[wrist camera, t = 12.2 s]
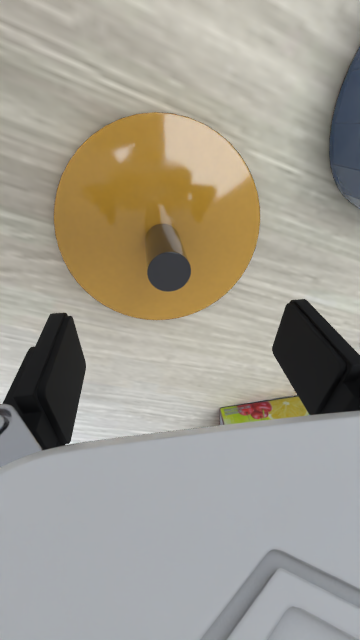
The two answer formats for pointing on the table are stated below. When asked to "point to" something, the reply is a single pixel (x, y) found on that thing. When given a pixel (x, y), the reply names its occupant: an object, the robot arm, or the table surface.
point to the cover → (156, 216)
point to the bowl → (347, 135)
